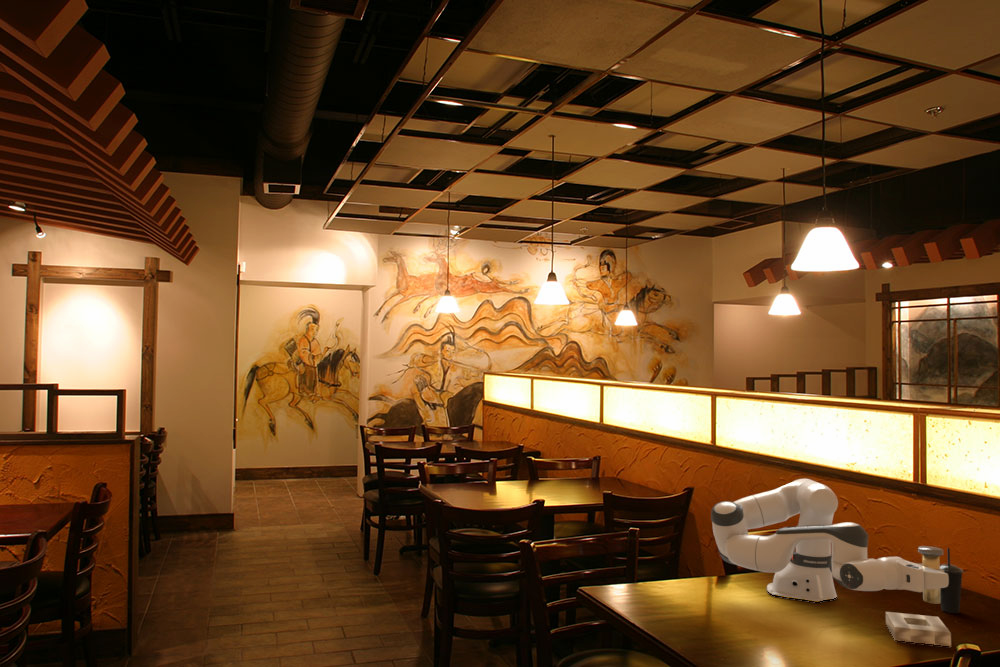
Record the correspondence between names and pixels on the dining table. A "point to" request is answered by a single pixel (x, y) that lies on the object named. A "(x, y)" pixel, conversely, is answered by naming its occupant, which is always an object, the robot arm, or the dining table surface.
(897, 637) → the block
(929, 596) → the beige jar with lid
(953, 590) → the drinking cup
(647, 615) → the dining table surface
